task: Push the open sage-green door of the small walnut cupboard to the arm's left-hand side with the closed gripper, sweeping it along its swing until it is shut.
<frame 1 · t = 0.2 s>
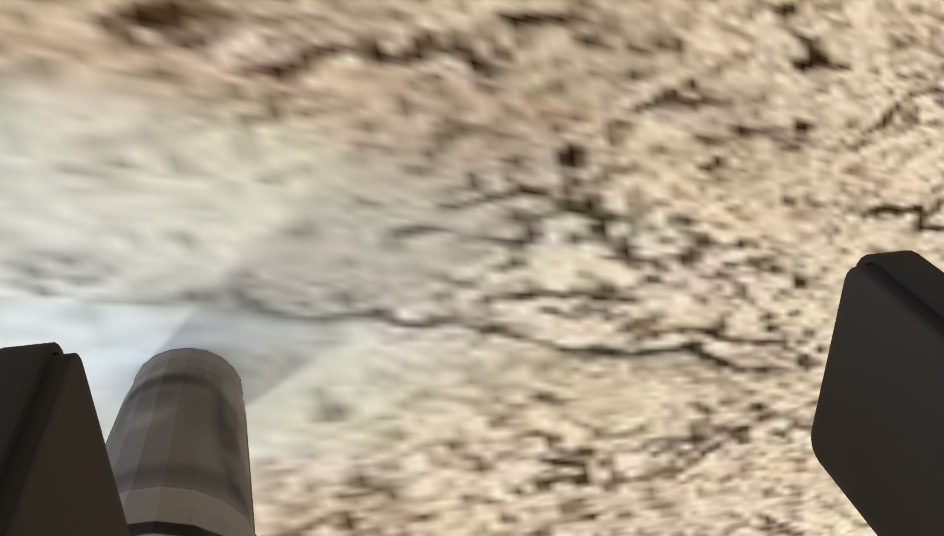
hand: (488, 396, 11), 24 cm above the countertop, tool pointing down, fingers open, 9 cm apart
beverage cup: (188, 389, 38), on the countertop
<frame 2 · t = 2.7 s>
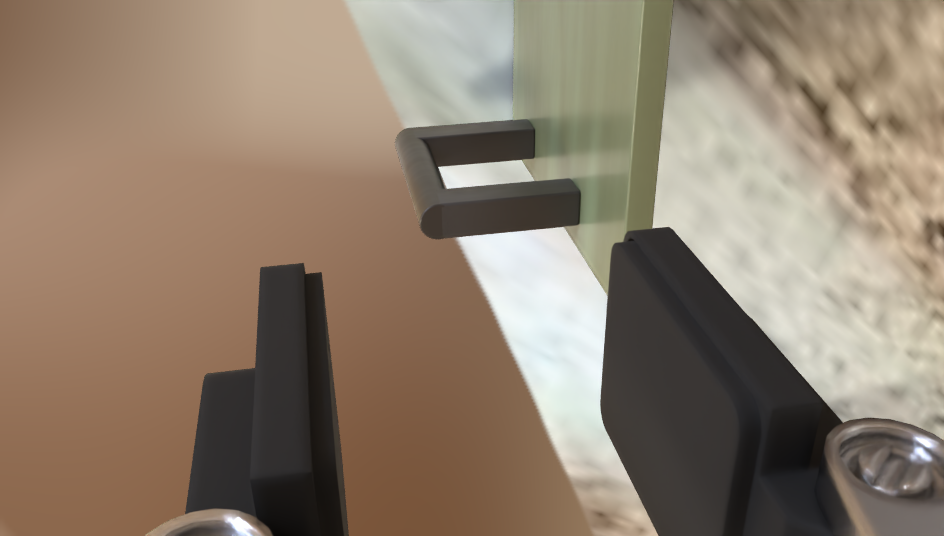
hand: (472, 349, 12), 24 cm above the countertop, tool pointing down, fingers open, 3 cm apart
cupboard door: (494, 2, 27), point 7 cm above the countertop, hinge at 60.0°
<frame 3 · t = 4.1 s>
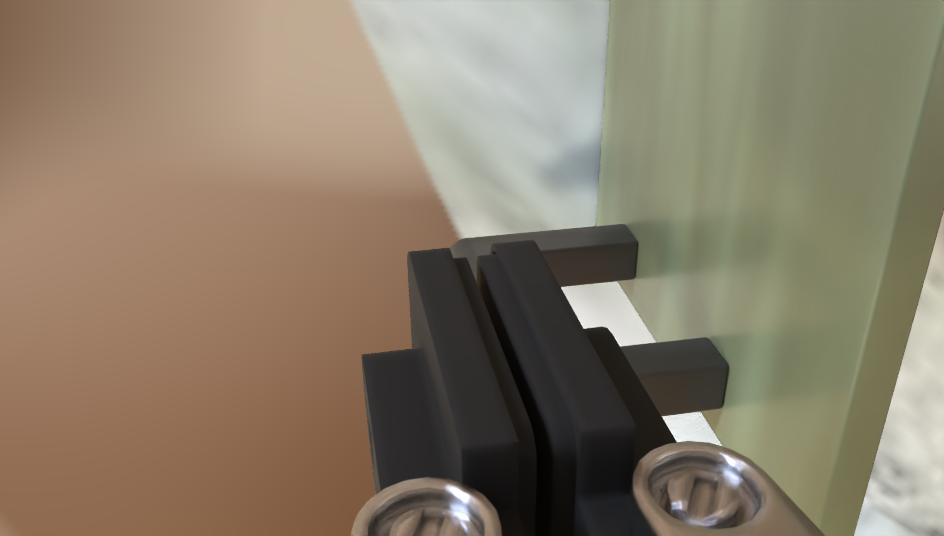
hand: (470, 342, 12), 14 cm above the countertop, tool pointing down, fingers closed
cupboard door: (608, 90, 18), point 7 cm above the countertop, hinge at 60.0°
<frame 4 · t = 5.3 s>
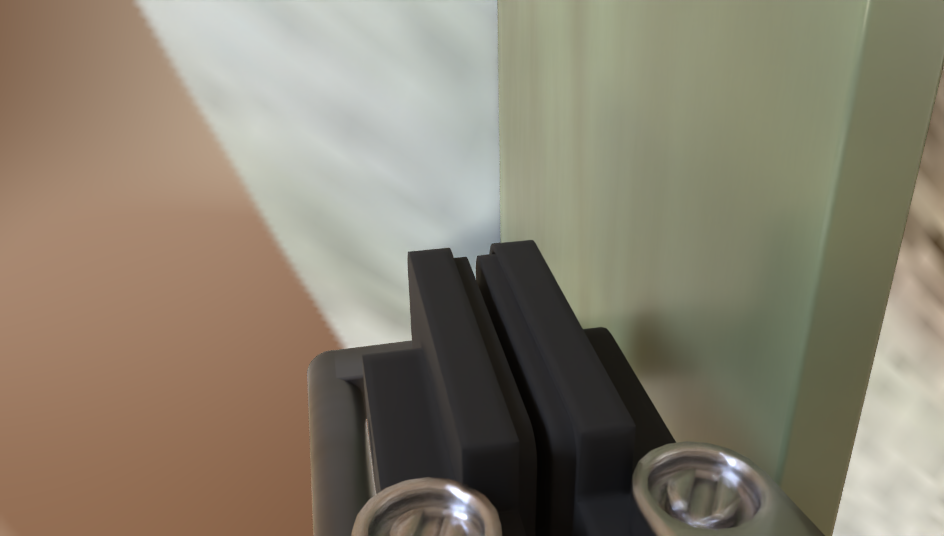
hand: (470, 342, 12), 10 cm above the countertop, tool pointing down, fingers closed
cupboard door: (454, 202, 14), point 7 cm above the countertop, hinge at 59.5°, touching gripper
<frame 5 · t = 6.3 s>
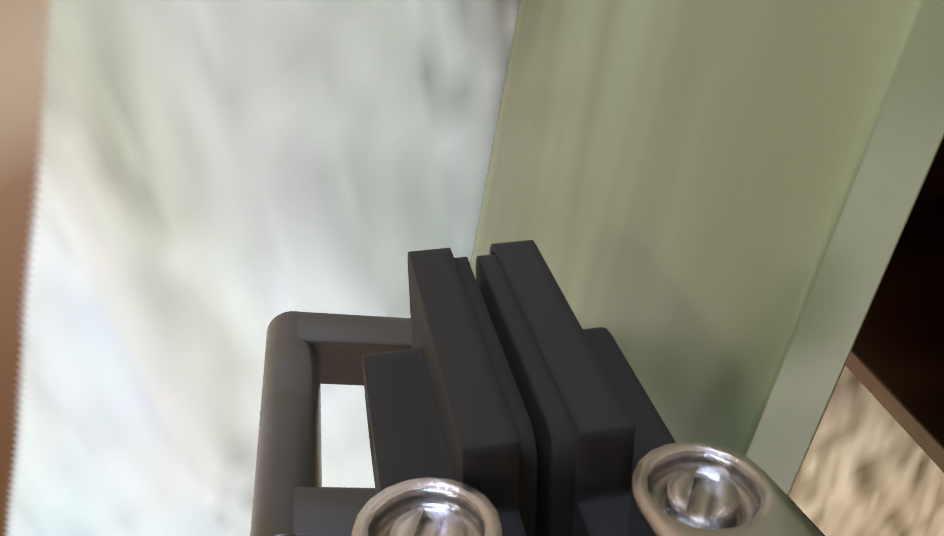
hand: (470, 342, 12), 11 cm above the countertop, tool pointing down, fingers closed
cupboard door: (457, 177, 15), point 7 cm above the countertop, hinge at 31.3°, touching gripper
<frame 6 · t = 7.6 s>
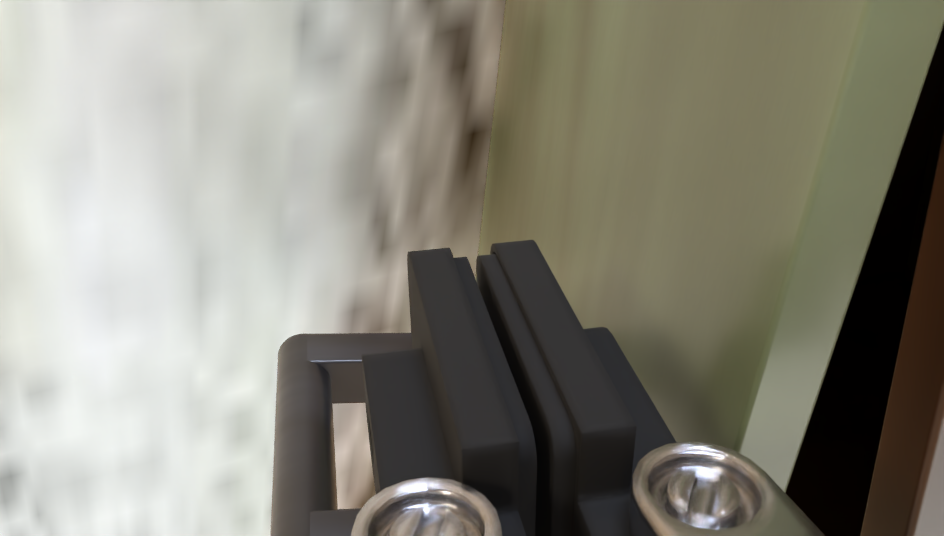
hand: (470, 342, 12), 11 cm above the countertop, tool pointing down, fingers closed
cupboard: (776, 58, 22), on the countertop
cupboard door: (447, 197, 15), point 7 cm above the countertop, hinge at 9.3°, touching gripper
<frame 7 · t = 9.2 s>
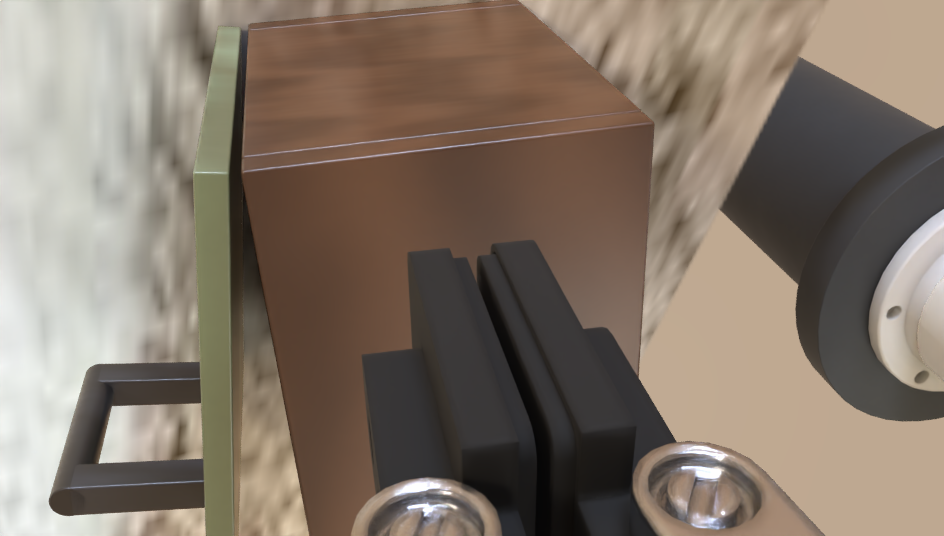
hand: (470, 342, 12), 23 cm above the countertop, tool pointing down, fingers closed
cupboard: (402, 192, 36), on the countertop
cupboard door: (144, 300, 29), point 7 cm above the countertop, hinge at 9.3°
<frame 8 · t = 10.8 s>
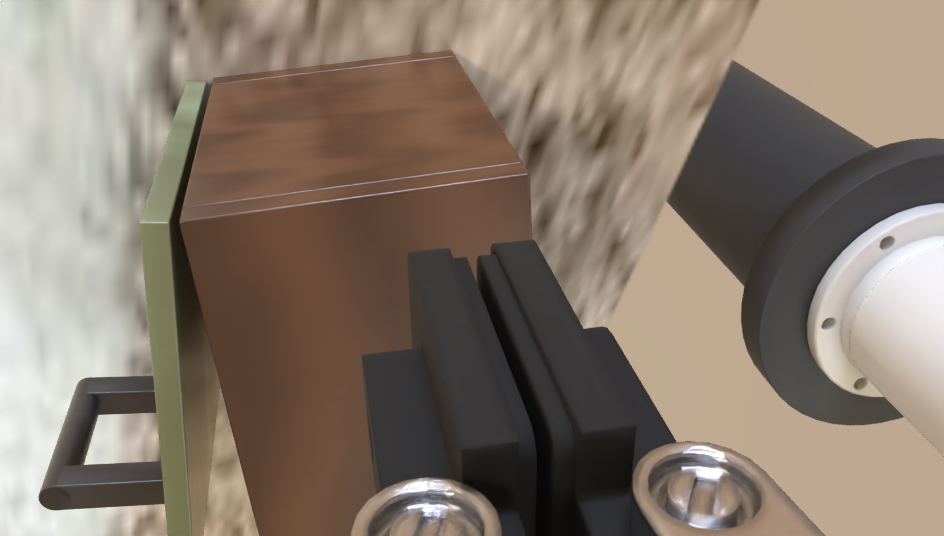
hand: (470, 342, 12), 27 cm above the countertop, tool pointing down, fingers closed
cupboard: (357, 221, 40), on the countertop
cupboard door: (120, 323, 33), point 7 cm above the countertop, hinge at 9.3°
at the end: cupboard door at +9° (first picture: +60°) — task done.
